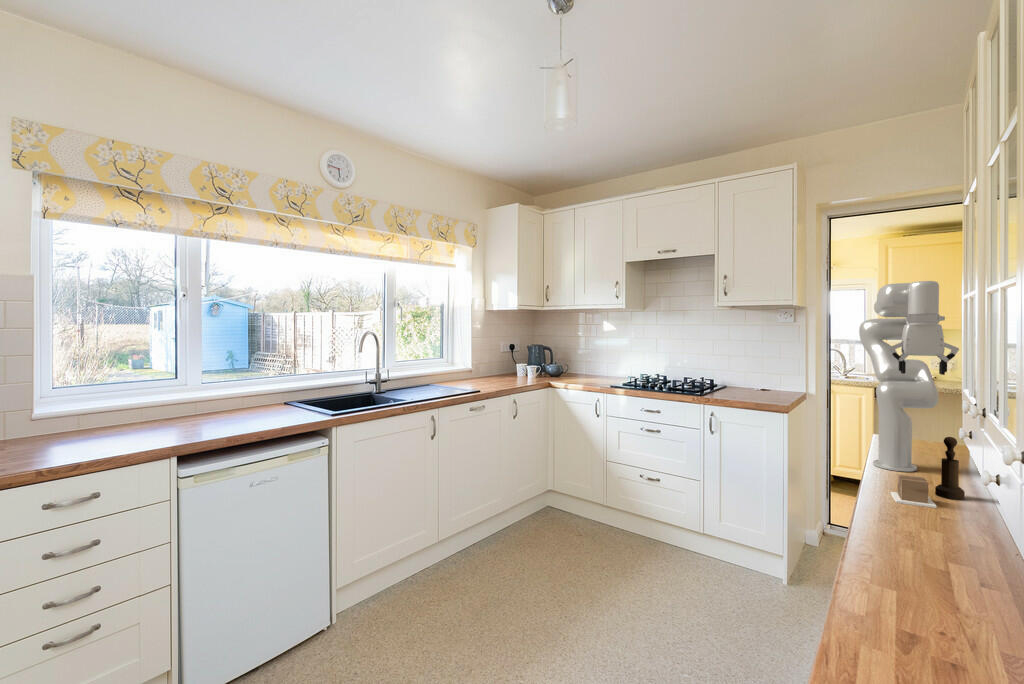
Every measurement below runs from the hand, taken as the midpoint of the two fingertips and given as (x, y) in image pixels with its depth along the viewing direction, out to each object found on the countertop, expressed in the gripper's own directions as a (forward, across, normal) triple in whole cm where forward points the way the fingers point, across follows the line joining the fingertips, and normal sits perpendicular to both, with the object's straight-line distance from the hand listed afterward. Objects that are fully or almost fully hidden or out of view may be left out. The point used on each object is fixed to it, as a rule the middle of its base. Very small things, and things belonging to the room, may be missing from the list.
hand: (922, 373), depth 154 cm
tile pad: (+36, +5, +17) cm, 40 cm away
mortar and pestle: (+36, -6, +7) cm, 38 cm away
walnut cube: (+36, +5, +17) cm, 40 cm away
